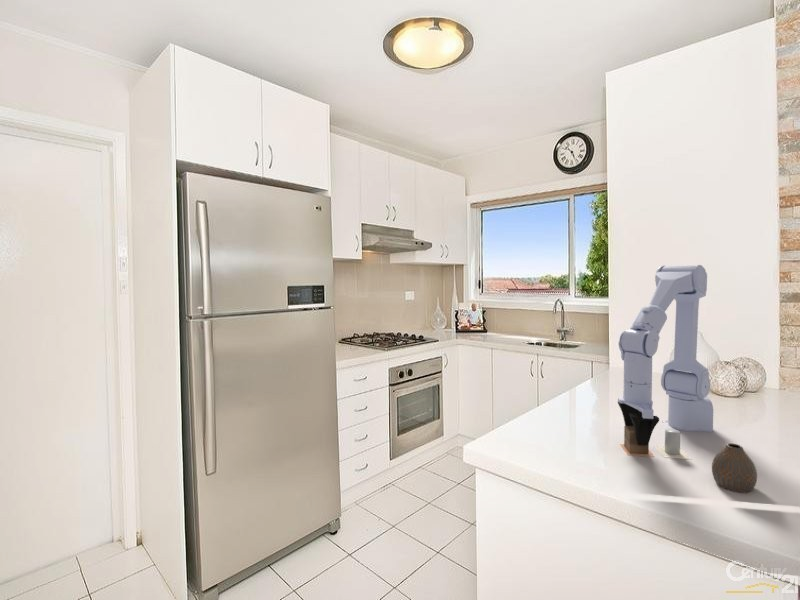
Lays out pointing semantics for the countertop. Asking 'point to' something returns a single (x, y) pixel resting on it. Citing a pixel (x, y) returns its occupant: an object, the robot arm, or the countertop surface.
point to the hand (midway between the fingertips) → (636, 438)
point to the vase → (734, 469)
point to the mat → (662, 452)
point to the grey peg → (672, 441)
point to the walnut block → (633, 442)
